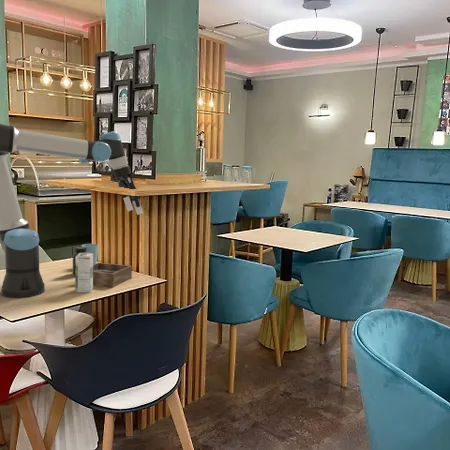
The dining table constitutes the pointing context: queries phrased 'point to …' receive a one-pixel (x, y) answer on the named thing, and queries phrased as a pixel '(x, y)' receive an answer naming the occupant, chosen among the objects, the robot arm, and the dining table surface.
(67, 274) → the dining table surface
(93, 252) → the cup
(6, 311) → the dining table surface
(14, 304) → the dining table surface
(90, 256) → the syrup box
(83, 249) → the supplement bottle
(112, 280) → the socket crate
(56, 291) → the dining table surface
